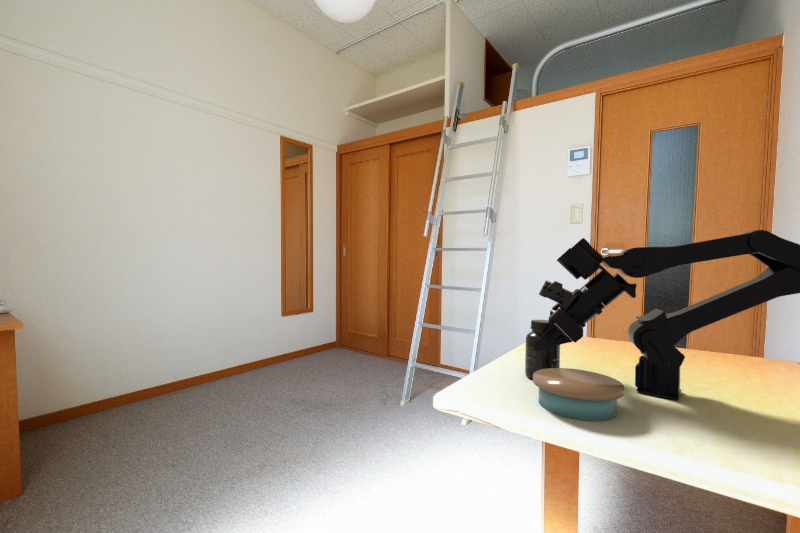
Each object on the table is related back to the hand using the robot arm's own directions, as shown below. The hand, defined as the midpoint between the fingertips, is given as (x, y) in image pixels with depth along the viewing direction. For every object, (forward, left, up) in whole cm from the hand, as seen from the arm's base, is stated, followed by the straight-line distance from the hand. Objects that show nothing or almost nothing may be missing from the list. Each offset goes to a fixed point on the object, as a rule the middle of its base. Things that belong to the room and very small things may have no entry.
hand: (535, 345), depth 80 cm
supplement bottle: (-1, 0, -7) cm, 7 cm away
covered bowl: (-11, +12, -7) cm, 18 cm away
